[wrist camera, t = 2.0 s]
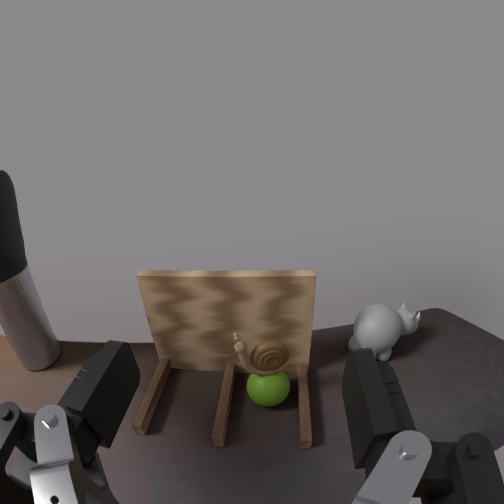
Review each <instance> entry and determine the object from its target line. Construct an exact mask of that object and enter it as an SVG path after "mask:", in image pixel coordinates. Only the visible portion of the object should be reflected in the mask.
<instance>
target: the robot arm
mask: <svg viewBox="0 0 504 504" xmlns="http://www.w3.org/2000/svg"><path fill="white" fill-rule="evenodd" d="M0 324H1V326H2V328H3V330H4V332H5V334H6V336H7V338H8V340H9V342H10V344H11V346H12V348H13V350H14V351H15V353H16V355H17V357H18V359H19V360H20V361H21V363H22V364H23V366H24V367H25V368H26V369H28V370H31V371H38V370H42V369H45V368H47V367H48V366H50V365H51V364H53V363H54V362H55V361H56V360H57V358H58V357H59V355H60V351H61V348H60V345H59V343H58V341H57V339H56V336H55V334H54V332H53V330H52V327H51V325H50V323H49V320H48V318H47V315H46V313H45V311H44V308H43V306H42V303H41V300H40V298H39V295H38V293H37V290H36V287H35V284H34V281H33V279H32V275H31V272H30V269H29V266H28V263H27V260H26V256H25V249H24V240H23V236H22V232H21V226H20V221H19V215H18V208H17V202H16V196H15V190H14V186H13V183H12V180H11V179H10V176H9V175H8V174H7V173H6V172H5V171H2V170H0ZM139 382H140V371H139V368H138V366H137V363H136V361H135V358H134V356H133V353H132V350H131V347H130V345H129V344H128V343H127V342H120V341H112V340H110V341H108V342H107V343H106V344H105V345H104V347H103V348H102V350H101V351H97V352H96V353H95V354H93V355H92V356H91V357H90V358H88V359H87V361H86V362H85V364H84V365H83V367H82V370H80V371H79V373H78V374H77V377H75V378H74V380H73V381H72V383H71V384H70V386H69V387H68V389H67V391H66V392H65V394H64V395H63V397H62V398H61V400H60V401H59V403H58V404H57V405H47V406H45V407H43V408H41V409H40V410H39V411H38V412H37V413H27V412H22V411H21V410H20V408H19V407H18V406H17V404H15V403H14V402H5V403H3V404H1V405H0V504H119V503H118V501H117V500H116V499H115V497H114V496H113V494H112V492H111V490H110V487H109V485H108V482H107V479H106V476H105V473H104V470H103V467H102V464H101V461H100V457H99V454H98V452H97V451H96V450H97V448H98V446H102V447H105V448H109V449H110V447H111V444H112V442H113V440H114V438H115V435H116V433H117V431H118V429H119V426H120V424H121V422H122V420H123V418H124V415H125V413H126V411H127V409H128V407H129V405H130V402H131V400H132V398H133V396H134V394H135V392H136V390H137V388H138V385H139ZM398 382H399V381H398V379H397V376H396V374H395V371H394V369H393V368H392V367H391V366H390V365H389V364H388V363H387V362H386V361H377V362H376V359H375V356H374V353H373V351H372V349H371V348H359V349H350V350H349V352H348V356H347V361H346V365H345V370H344V374H343V379H342V394H343V400H344V405H345V411H346V416H347V422H348V428H349V433H350V439H351V446H352V452H353V459H354V465H355V469H360V468H365V473H366V477H365V479H364V480H363V482H362V483H361V485H360V486H359V488H358V489H357V490H356V492H355V493H354V495H353V496H352V497H351V499H350V500H349V502H348V503H347V504H408V503H409V501H410V499H411V497H421V502H422V504H504V484H503V480H502V476H501V473H500V470H499V467H498V463H497V460H496V457H495V454H494V451H493V448H492V446H491V443H490V441H489V440H488V439H487V437H485V436H484V435H482V434H480V433H468V434H466V435H464V436H463V437H462V438H461V439H460V440H459V441H458V442H433V441H430V440H429V439H428V438H427V437H426V436H425V435H423V434H422V433H420V432H418V431H417V430H416V428H415V425H414V422H413V420H412V417H411V414H410V411H409V408H408V405H407V403H406V400H405V397H404V394H403V393H402V389H401V386H400V384H399V383H398ZM15 446H16V447H17V448H18V449H19V450H20V451H21V453H20V455H19V457H18V459H17V461H16V463H15V465H14V468H13V470H12V472H11V474H10V475H9V476H7V474H6V472H5V465H6V463H7V461H8V459H9V457H10V455H11V453H12V451H13V449H14V447H15Z"/></svg>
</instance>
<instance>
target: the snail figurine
mask: <svg viewBox="0 0 504 504" xmlns="http://www.w3.org/2000/svg"><path fill="white" fill-rule="evenodd" d="M233 336H234V341H236V344H235V346H234V348H235V351H236V352H237V353H238V356H239V359H240V361H241V363H242V365H243V367H244V368H245V369H246V370H247V371H248V372H250V373H252V374H251V375H250V377H249V379H248V381H247V392H248V394H249V396H250V398H251V399H252V400H253V401H254V402H255V403H257V404H259V405H261V406H266V407H270V406H275V405H278V404H279V403H281V402H282V401H283V400H284V399H285V398H286V397H287V395H288V393H289V389H290V383H289V379H288V377H287V375H286V374H285V373H284V372H283V371H282V370H284V369H285V368H286V367H287V366H288V364H289V363H288V362H287V361H288V359H289V356H290V352H289V348H288V347H287V346H286V345H285V344H284V343H283V342H280V341H276V340H269V341H265V342H262V343H260V344H259V345H257V346H256V347H255V348H254V349H253V351H252V352H251V356H250V357H249V355H248V353H247V344H246V343H245V342H242V341H239V342H237V341H238V340H239V338H238V334H237V333H234V334H233Z"/></svg>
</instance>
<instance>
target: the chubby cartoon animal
mask: <svg viewBox="0 0 504 504" xmlns="http://www.w3.org/2000/svg"><path fill="white" fill-rule="evenodd" d="M416 314H417V312H412V311H411V310H410V309H407V307H406V302H404V303H403V304H402V306H401V308H400V309H398V310H396V311H395V310H394V309H393V308H392V307H390V306H389V305H386V304H381V303H376V304H372V305H369V306H367V307H365V308H364V309H363V310H362V311H361V312H360V313H359V314H358V316H357V317H356V320H355V322H354V327H353V332H354V335H353V336H352V337H351V339H350V340H349V343H348V348H349V350H350V349H359V348H371V349H372V351H373V353H374V356H375V359H377V360H379V361H387V360H388V359H389V358H390V356H391V353H392V347H393V346H394V345H395V343H396V342H397V341H398V339H399V337H400V335H402V336H403V335H407V334H411V333H413V332H415V331H416V329H417V327H418V321H419V319H420V312H419V313H418V315H417V316H416Z"/></svg>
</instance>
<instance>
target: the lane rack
mask: <svg viewBox="0 0 504 504" xmlns="http://www.w3.org/2000/svg"><path fill="white" fill-rule="evenodd" d="M137 280H138V285H139V289H140V293H141V297H142V301H143V304H144V308H145V312H146V316H147V319H148V323H149V327H150V330H151V333H152V337H153V340H154V344H155V347H156V350H157V353H158V356H159V359H160V362H159V364H158V366H157V369H156V371H155V373H154V375H153V378H152V380H151V382H150V384H149V387H148V389H147V391H146V393H145V396H144V398H143V400H142V402H141V405H140V407H139V409H138V412H137V414H136V416H135V419H134V421H133V423H132V426H133V428H134V430H135V431H136V433H137V434H141V435H146V432H147V429H148V427H149V424H150V422H151V419H152V416H153V414H154V411H155V408H156V406H157V403H158V401H159V398H160V396H161V393H162V390H163V388H164V385H165V383H166V380H167V378H168V375H169V373H170V370H171V368H177V369H187V370H199V371H214V372H225V373H224V378H223V383H222V388H221V392H220V397H219V402H218V407H217V412H216V417H215V422H214V427H213V431H212V436H211V440H212V443H213V446H217V447H224V442H225V436H226V430H227V424H228V418H229V412H230V406H231V400H232V394H233V388H234V382H235V376H236V373H250V372H248V371H247V370H246V369H245V368H244V367H243V365H242V363H241V361H240V359H239V356H238V353H237V352H236V351H235V348H234V346H235V344H236V341H234V336H233V334H234V333H237V334H238V338H239V340H238V341H237V342H239V341H242V342H245V343H246V344H247V353H248V355H249V357H250V356H251V352H252V351H253V349H254V348H255V347H256V346H257V345H259V344H260V343H262V342H265V341H269V340H276V341H280V342H283V343H284V344H285V345H286V346H287V347H288V348H289V352H290V356H289V359H288V361H287V362H288V363H289V364H288V366H287V367H286V368H285V369H284V370H282V371H283V372H284V373H297V390H298V412H299V439H300V449H310V447H311V443H312V433H311V418H310V405H309V393H308V382H307V373H308V365H309V356H310V346H311V336H312V325H313V313H314V301H315V287H316V273H315V270H293V271H292V270H291V271H290V270H288V271H149V270H148V271H147V270H141V271H140V272H139V273H138V274H137Z"/></svg>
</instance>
